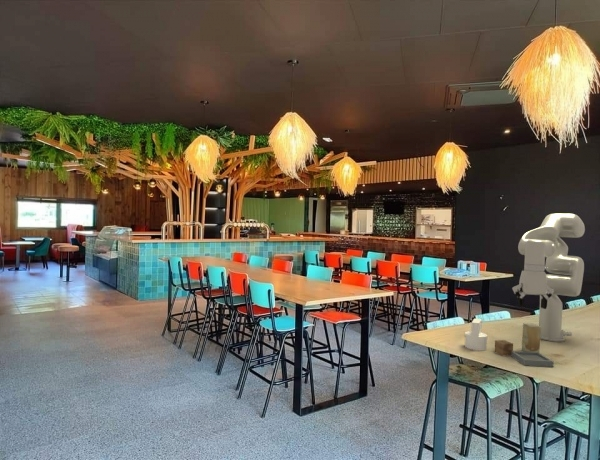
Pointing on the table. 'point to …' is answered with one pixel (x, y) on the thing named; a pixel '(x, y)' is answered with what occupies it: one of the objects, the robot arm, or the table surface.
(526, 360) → the slate tray
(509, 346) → the walnut block
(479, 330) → the base with upright slab
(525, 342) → the skincare box
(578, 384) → the table surface
